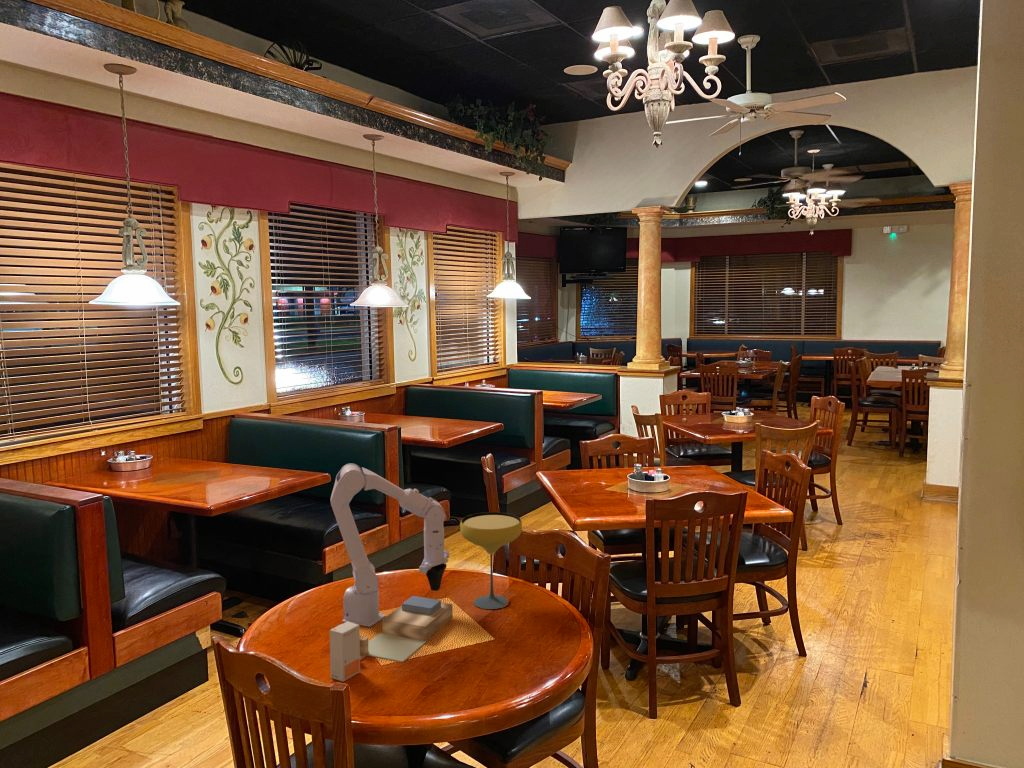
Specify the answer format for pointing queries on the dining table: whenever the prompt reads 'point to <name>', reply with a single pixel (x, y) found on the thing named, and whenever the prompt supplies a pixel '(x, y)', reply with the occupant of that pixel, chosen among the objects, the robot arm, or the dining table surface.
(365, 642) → the oak rack
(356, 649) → the skincare box
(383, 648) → the mat
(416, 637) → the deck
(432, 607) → the blue-grey rectangular block
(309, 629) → the dining table surface
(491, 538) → the cocktail glass
